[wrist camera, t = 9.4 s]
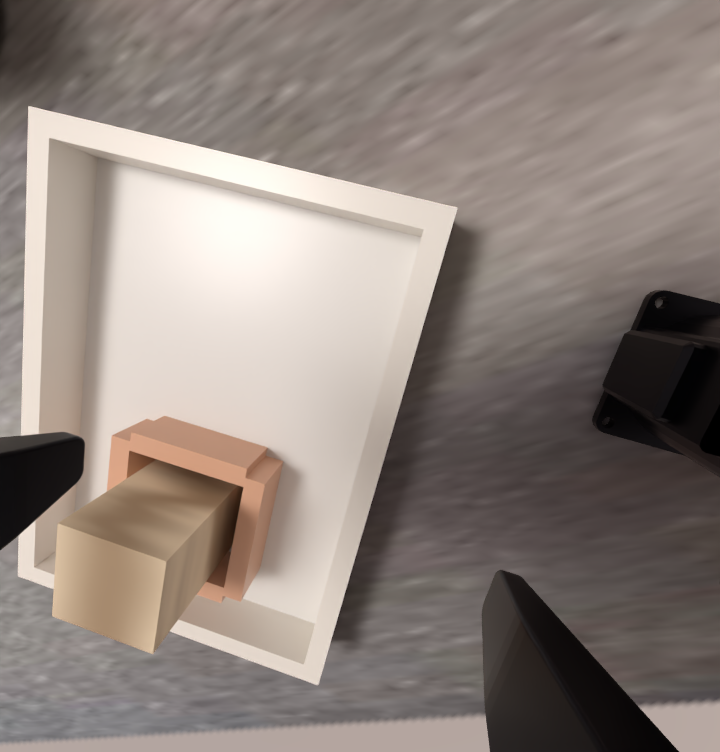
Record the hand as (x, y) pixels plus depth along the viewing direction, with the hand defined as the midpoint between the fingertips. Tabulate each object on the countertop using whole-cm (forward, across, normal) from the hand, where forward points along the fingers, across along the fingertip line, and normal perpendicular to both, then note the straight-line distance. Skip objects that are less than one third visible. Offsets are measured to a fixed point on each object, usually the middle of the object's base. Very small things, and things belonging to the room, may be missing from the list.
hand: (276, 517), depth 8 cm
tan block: (+11, +7, +9) cm, 16 cm away
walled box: (+12, +7, +4) cm, 14 cm away
